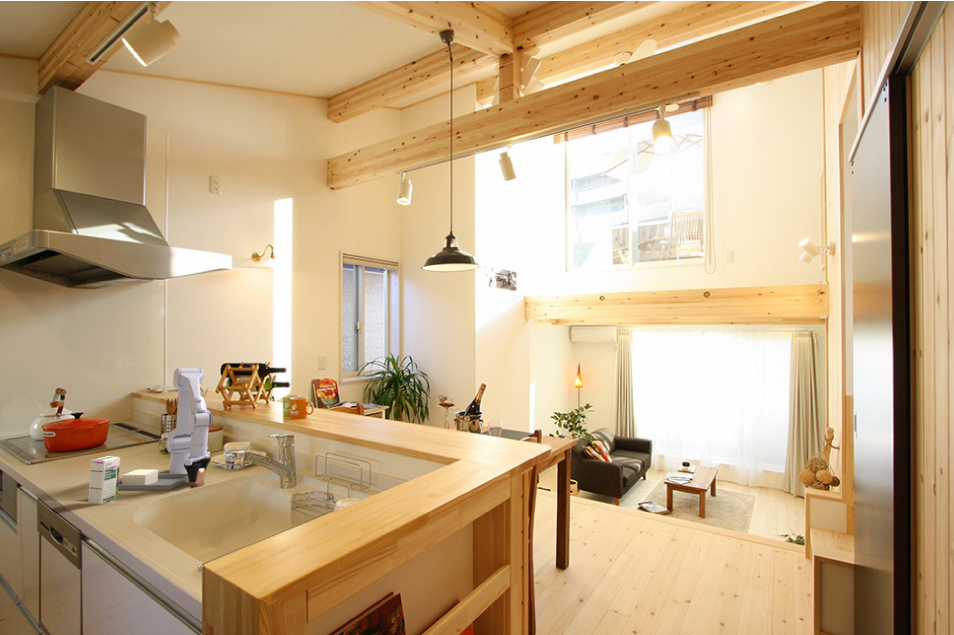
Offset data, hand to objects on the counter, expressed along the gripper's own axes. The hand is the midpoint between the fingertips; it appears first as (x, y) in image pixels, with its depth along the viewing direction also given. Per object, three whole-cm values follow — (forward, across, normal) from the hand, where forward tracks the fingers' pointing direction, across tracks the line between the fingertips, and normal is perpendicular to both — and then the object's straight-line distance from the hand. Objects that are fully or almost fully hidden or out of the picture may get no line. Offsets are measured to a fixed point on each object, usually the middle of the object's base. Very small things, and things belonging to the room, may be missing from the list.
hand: (196, 479), depth 179 cm
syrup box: (+2, -19, +21) cm, 28 cm away
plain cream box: (+1, -1, +20) cm, 20 cm away
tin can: (+2, 0, 0) cm, 2 cm away
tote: (+2, -1, +15) cm, 15 cm away
